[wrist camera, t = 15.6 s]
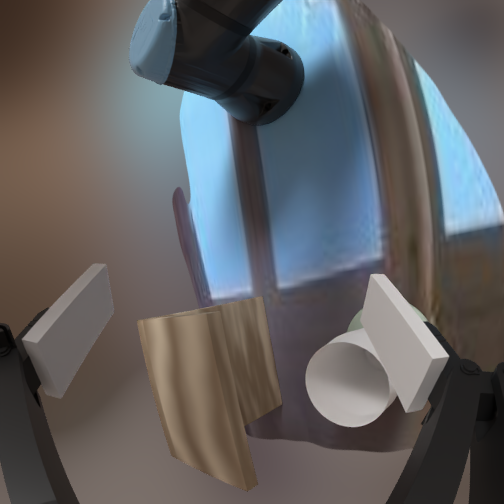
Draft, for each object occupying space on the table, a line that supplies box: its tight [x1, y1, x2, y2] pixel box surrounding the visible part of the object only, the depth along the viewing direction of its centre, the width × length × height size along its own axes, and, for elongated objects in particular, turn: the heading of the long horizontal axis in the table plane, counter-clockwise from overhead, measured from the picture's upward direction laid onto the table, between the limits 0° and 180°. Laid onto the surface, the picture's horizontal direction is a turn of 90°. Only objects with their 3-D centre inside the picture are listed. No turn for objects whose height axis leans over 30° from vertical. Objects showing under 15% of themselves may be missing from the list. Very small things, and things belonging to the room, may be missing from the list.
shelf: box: [137, 296, 282, 491], centre depth 36 cm, size 14×18×20 cm
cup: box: [305, 328, 397, 427], centre depth 30 cm, size 9×9×12 cm
